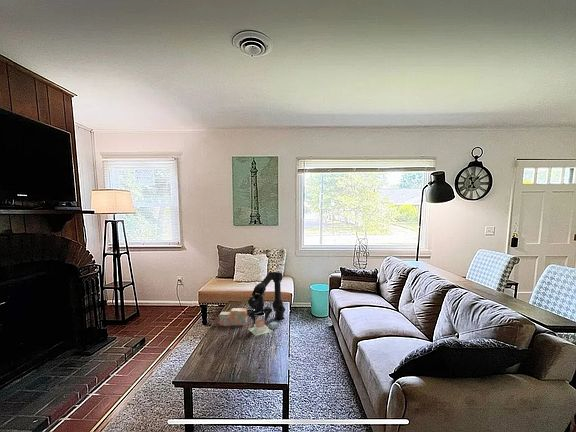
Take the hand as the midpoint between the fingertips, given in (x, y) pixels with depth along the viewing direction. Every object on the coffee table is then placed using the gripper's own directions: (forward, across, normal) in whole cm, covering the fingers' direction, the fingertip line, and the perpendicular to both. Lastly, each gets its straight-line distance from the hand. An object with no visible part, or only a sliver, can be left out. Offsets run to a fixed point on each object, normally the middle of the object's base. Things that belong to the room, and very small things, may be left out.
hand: (260, 322), depth 209 cm
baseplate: (+6, 0, 0) cm, 6 cm away
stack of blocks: (+6, +13, -22) cm, 27 cm away
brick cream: (+6, 0, 0) cm, 6 cm away
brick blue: (+6, -11, +2) cm, 13 cm away
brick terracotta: (+2, 0, 0) cm, 2 cm away
